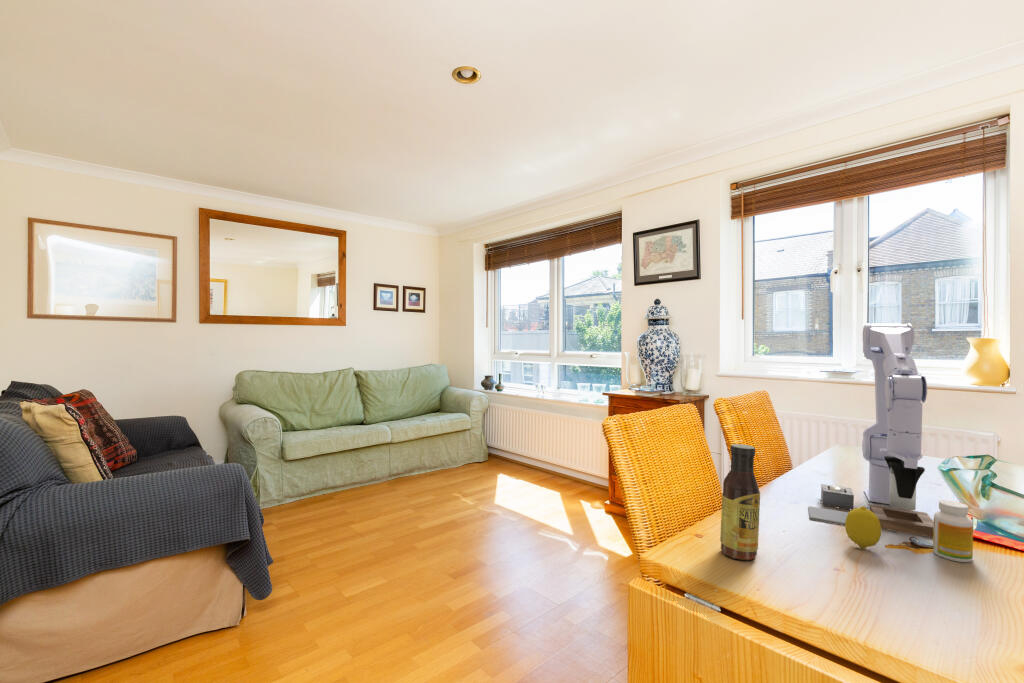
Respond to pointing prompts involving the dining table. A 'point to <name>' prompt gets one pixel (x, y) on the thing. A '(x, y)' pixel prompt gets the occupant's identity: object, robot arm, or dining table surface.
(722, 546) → the sauce bottle
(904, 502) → the cylinder
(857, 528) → the lemon
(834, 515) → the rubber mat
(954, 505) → the supplement bottle
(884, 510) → the walnut housing
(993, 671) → the dining table surface
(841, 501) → the plunger collar
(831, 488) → the plunger button
